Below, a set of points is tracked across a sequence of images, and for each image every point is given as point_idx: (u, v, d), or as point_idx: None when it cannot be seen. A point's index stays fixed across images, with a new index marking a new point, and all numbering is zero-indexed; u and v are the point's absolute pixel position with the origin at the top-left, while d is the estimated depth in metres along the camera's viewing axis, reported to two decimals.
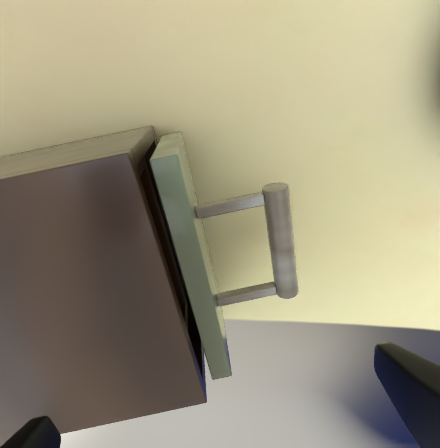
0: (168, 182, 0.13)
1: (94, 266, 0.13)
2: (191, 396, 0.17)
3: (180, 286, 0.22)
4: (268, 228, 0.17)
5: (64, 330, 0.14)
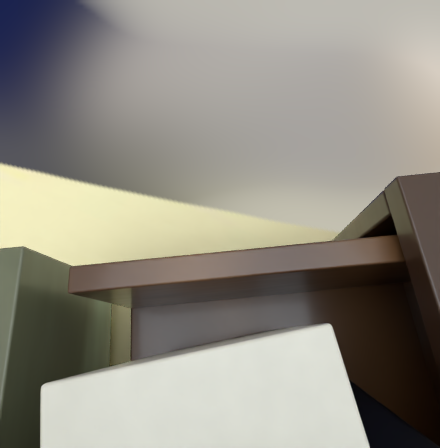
0: None
1: None
2: (433, 201, 0.08)
3: (131, 343, 0.13)
4: None
5: None
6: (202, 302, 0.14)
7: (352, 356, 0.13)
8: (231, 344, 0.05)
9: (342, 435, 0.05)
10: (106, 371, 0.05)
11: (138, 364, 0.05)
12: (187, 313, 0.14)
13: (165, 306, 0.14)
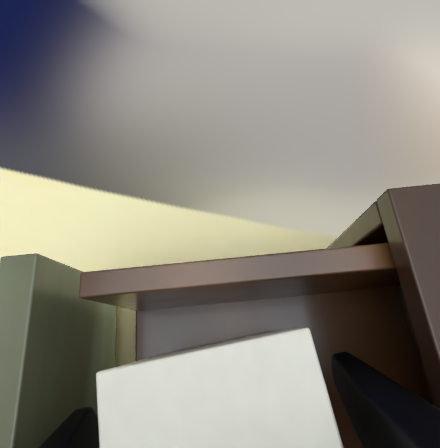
0: None
1: None
2: (422, 212, 0.08)
3: (136, 344, 0.14)
4: None
5: None
6: (204, 305, 0.14)
7: None
8: (235, 343, 0.07)
9: (315, 407, 0.06)
10: (144, 362, 0.07)
11: (167, 357, 0.07)
12: (190, 315, 0.14)
13: (169, 309, 0.14)
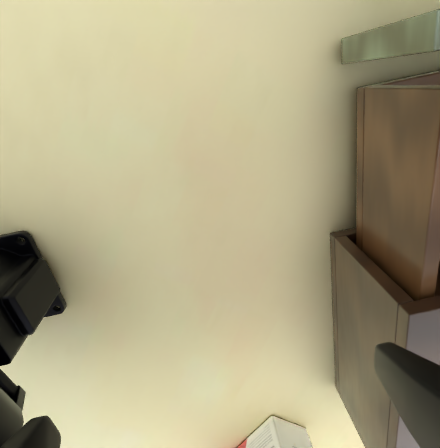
0: None
1: None
2: None
3: None
4: None
5: None
6: None
7: None
8: None
9: None
10: None
11: None
12: None
13: None
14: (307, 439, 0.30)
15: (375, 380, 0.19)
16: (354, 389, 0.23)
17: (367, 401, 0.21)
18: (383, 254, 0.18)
